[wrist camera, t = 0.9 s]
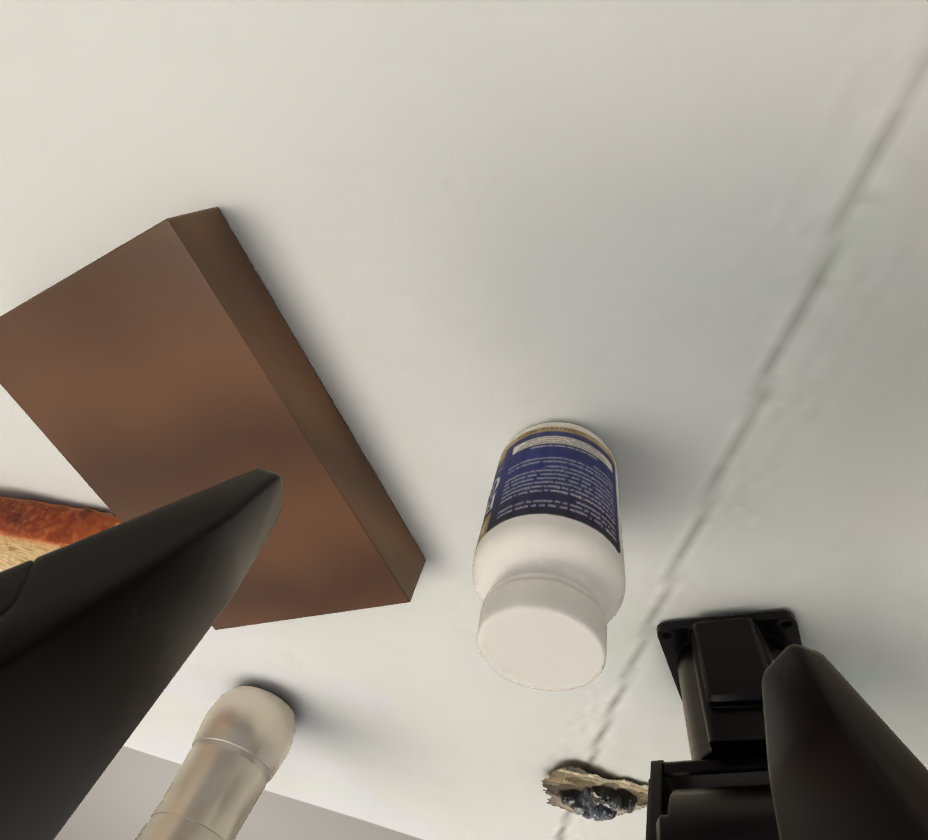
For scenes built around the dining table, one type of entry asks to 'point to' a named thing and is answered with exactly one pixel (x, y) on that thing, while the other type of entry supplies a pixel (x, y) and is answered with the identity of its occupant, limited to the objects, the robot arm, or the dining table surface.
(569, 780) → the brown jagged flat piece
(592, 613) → the pill bottle
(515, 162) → the dining table surface
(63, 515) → the slice of bread
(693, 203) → the dining table surface
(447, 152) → the dining table surface
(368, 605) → the walnut board
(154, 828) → the silver metal bottle
